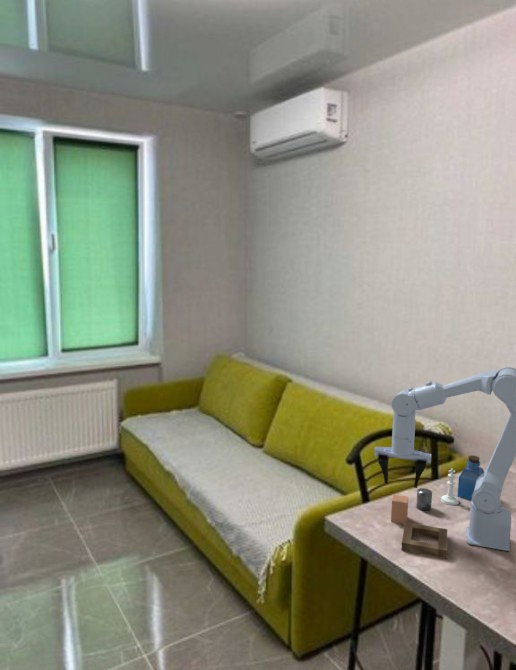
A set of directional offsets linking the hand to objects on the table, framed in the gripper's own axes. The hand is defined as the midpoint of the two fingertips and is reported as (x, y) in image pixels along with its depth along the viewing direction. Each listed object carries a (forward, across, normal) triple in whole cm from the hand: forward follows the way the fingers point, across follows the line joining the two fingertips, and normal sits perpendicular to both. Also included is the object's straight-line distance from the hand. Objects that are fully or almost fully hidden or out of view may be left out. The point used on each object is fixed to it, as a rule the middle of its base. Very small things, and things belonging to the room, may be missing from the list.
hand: (400, 484), depth 140 cm
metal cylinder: (+10, -6, -9) cm, 15 cm away
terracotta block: (+10, 0, 0) cm, 10 cm away
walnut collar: (+10, -7, +10) cm, 16 cm away
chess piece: (+10, -13, -16) cm, 23 cm away
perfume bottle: (+10, -19, -22) cm, 31 cm away
